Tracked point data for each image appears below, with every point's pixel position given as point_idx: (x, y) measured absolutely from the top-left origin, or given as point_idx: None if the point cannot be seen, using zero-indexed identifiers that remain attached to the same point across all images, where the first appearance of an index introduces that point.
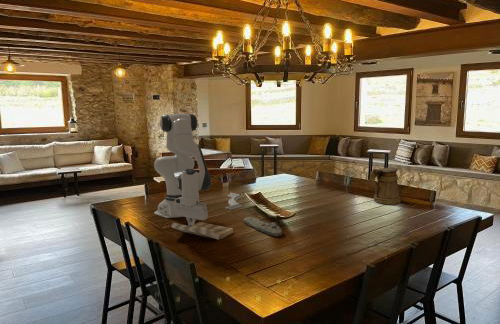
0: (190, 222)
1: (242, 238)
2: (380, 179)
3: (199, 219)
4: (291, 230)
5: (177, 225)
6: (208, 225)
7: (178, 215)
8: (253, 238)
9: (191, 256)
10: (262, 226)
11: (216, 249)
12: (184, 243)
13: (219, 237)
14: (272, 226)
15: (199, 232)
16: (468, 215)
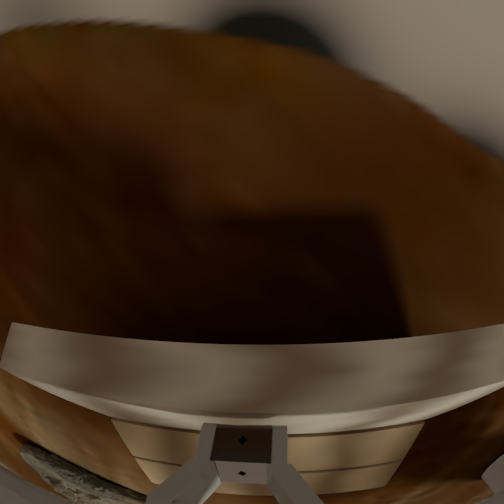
0: (248, 468)
1: (69, 423)
2: None
3: (12, 476)
4: None
5: (463, 366)
6: None
7: (497, 497)
8: (49, 428)
9: (26, 61)
10: (84, 490)
11: (8, 260)
12: (273, 221)
13: None
14: (60, 485)
15: (75, 340)
16: None
